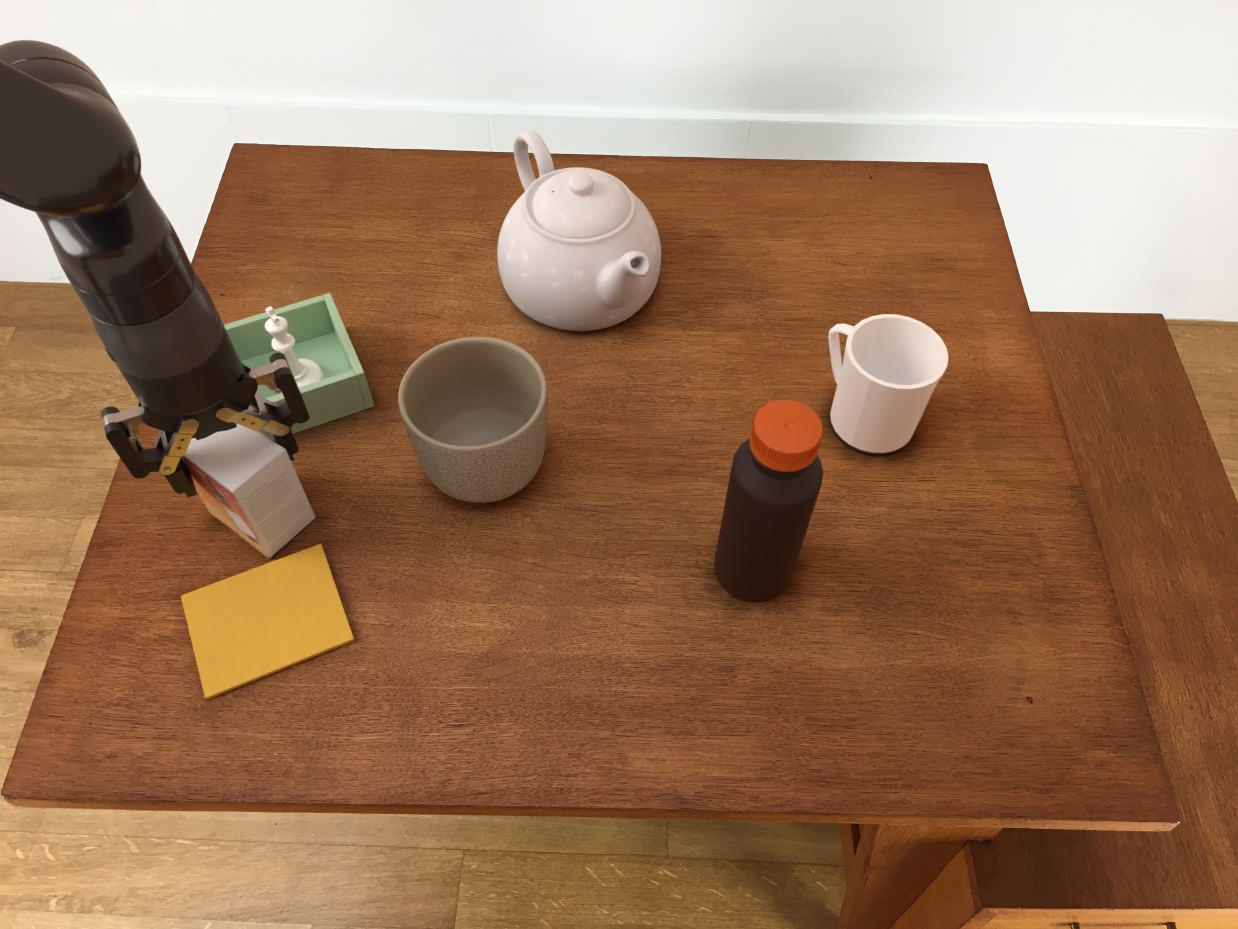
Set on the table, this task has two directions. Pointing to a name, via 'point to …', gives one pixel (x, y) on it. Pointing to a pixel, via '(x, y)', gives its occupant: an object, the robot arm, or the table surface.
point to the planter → (476, 417)
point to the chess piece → (291, 351)
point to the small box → (249, 486)
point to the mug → (883, 380)
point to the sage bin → (309, 358)
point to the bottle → (769, 501)
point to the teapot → (576, 245)
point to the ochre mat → (265, 620)
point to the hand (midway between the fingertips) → (239, 470)
